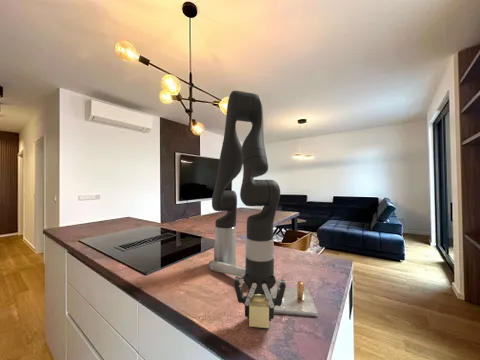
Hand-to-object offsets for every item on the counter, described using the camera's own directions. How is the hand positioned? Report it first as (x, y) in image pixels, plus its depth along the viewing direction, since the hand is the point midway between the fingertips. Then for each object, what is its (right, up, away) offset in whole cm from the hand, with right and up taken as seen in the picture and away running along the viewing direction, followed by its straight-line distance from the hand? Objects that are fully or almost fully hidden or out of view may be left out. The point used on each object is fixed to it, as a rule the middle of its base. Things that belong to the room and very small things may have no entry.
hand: (259, 318), depth 55 cm
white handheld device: (-8, -2, +26) cm, 27 cm away
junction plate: (+9, -1, +10) cm, 13 cm away
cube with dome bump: (0, -1, 0) cm, 1 cm away
